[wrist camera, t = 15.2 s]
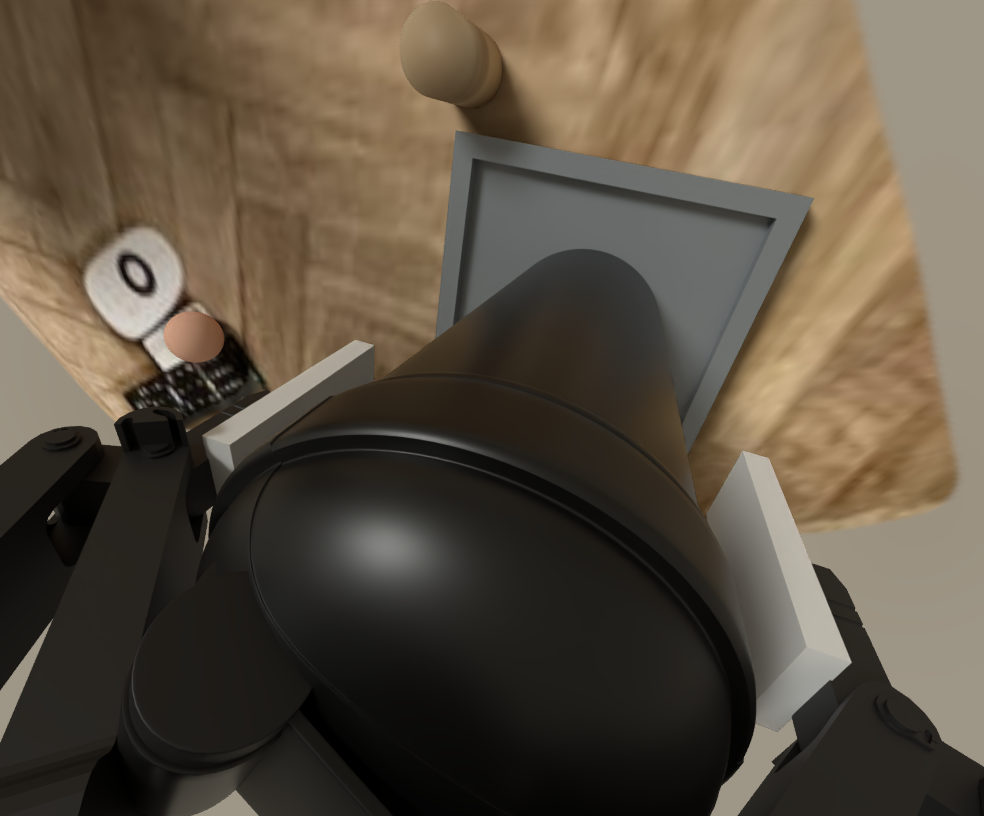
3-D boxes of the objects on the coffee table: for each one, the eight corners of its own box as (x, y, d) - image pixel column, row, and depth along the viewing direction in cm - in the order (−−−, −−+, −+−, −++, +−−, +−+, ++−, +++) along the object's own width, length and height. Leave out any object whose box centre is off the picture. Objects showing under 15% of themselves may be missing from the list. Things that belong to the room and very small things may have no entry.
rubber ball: (199, 344, 35) (157, 362, 32) (190, 300, 33) (144, 314, 30) (238, 357, 34) (199, 376, 31) (231, 312, 32) (189, 328, 29)
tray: (436, 401, 31) (428, 410, 30) (464, 131, 22) (455, 130, 21) (671, 473, 28) (672, 485, 27) (804, 195, 20) (814, 198, 19)
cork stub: (439, 102, 22) (398, 91, 18) (445, 24, 21) (401, -5, 17) (496, 113, 22) (465, 104, 18) (507, 34, 20) (476, 6, 16)
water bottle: (596, 439, 28) (485, 1078, 8) (460, 345, 27) (19, 784, 8) (722, 308, 22) (1246, 1292, 3) (554, 188, 22) (-128, 388, 3)
